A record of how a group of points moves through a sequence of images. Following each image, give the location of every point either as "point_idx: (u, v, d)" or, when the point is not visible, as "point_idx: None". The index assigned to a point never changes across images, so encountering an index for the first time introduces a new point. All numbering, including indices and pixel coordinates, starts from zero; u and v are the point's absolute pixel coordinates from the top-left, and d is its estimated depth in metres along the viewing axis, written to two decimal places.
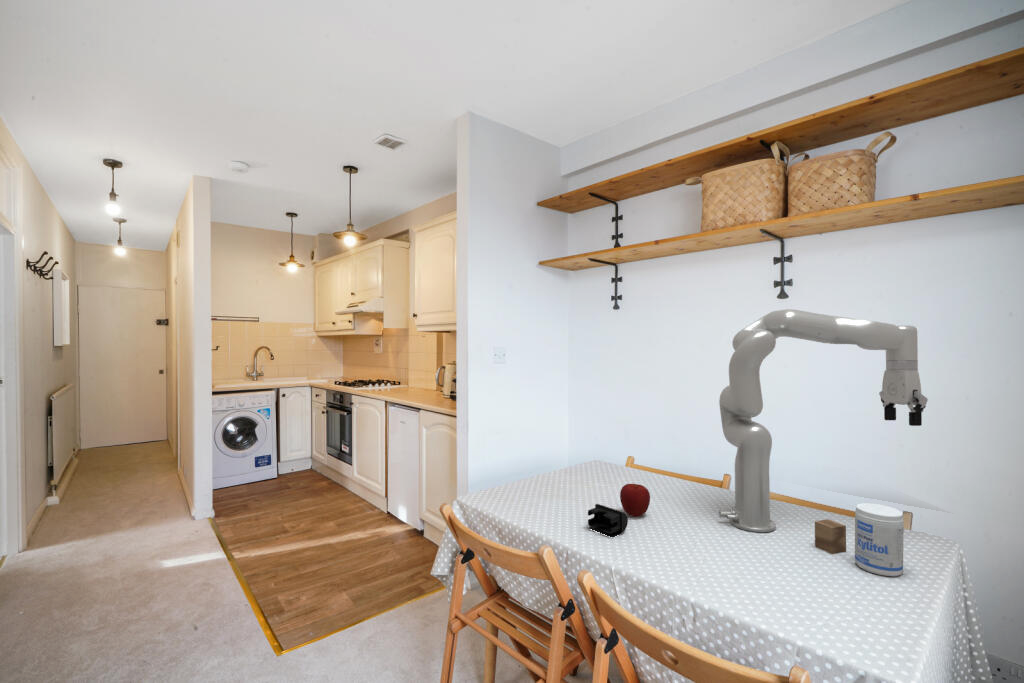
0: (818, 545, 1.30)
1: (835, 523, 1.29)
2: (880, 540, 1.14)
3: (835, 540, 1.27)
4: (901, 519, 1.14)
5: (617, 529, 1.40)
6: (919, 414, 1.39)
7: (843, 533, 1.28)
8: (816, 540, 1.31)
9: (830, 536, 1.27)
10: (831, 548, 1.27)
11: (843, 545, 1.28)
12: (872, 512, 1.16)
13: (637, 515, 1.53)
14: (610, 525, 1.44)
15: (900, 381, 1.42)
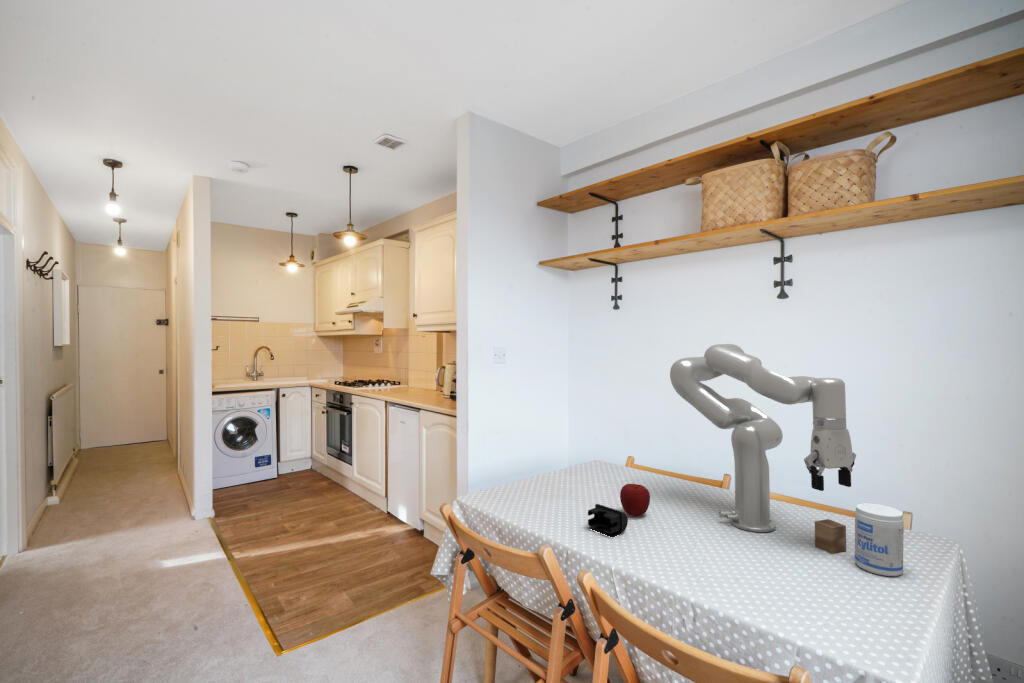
0: (818, 545, 1.30)
1: (835, 523, 1.29)
2: (880, 540, 1.14)
3: (835, 540, 1.27)
4: (901, 519, 1.14)
5: (617, 529, 1.40)
6: None
7: (843, 533, 1.28)
8: (816, 540, 1.31)
9: (830, 536, 1.27)
10: (831, 548, 1.27)
11: (843, 545, 1.28)
12: (872, 512, 1.16)
13: (637, 515, 1.53)
14: (610, 525, 1.44)
15: (847, 440, 1.28)
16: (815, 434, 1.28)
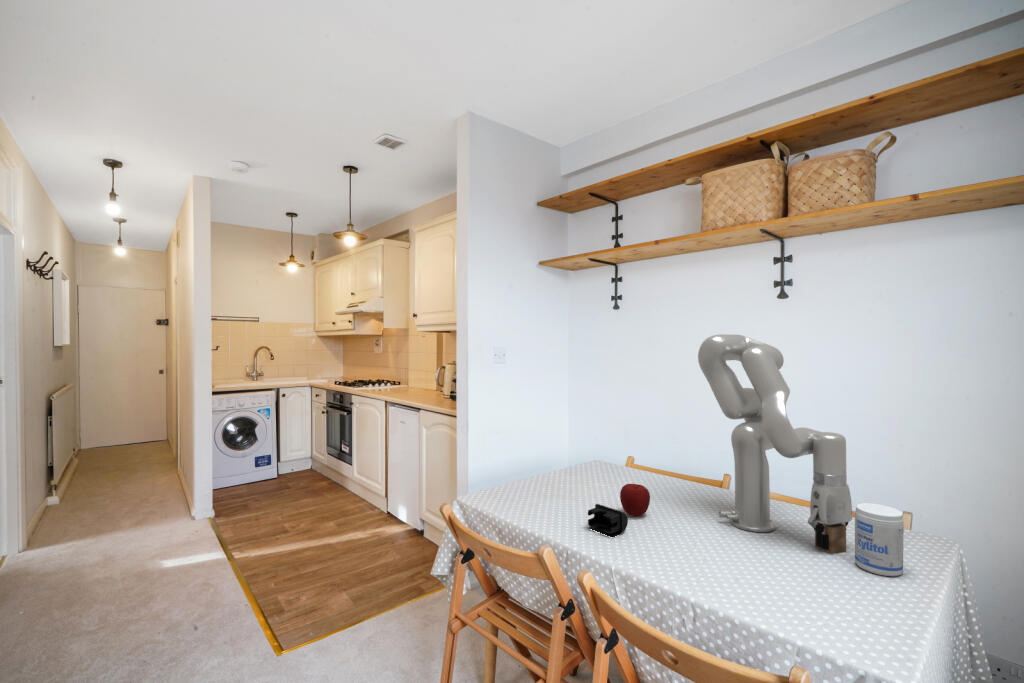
0: None
1: None
2: (880, 540, 1.14)
3: (835, 540, 1.27)
4: (901, 519, 1.14)
5: (617, 529, 1.40)
6: None
7: (843, 533, 1.28)
8: None
9: (830, 536, 1.27)
10: (831, 548, 1.27)
11: (843, 545, 1.28)
12: (872, 512, 1.16)
13: (637, 515, 1.53)
14: (610, 525, 1.44)
15: (847, 496, 1.28)
16: (815, 489, 1.29)
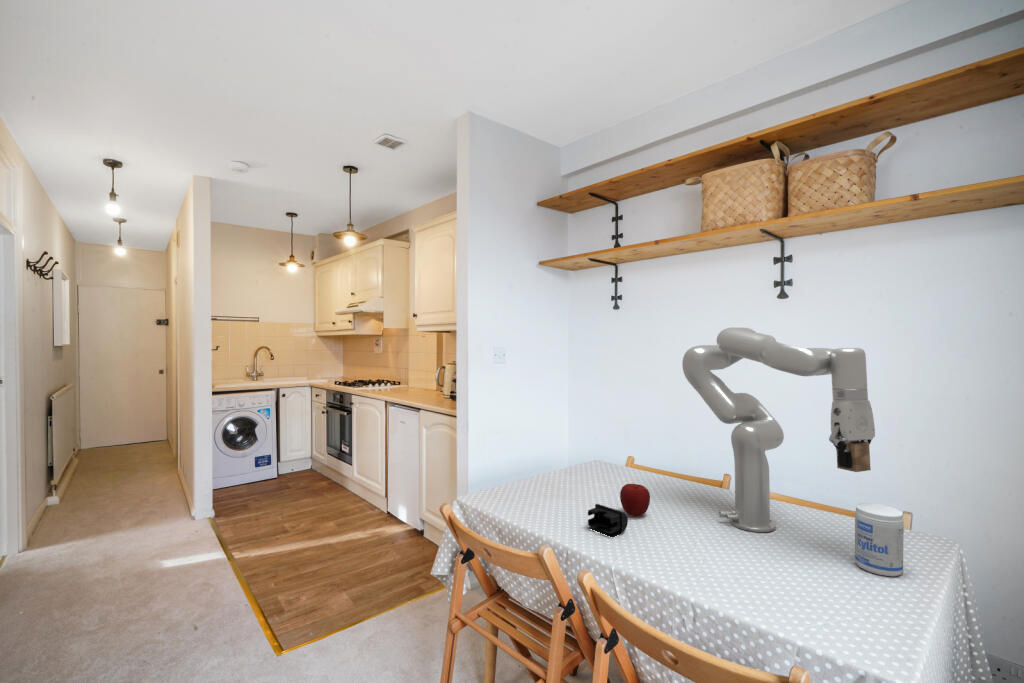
0: None
1: (857, 441, 1.24)
2: (880, 540, 1.14)
3: (859, 457, 1.21)
4: (901, 519, 1.14)
5: (617, 529, 1.40)
6: None
7: (867, 450, 1.22)
8: None
9: (854, 453, 1.21)
10: (855, 466, 1.21)
11: (867, 463, 1.22)
12: (872, 512, 1.16)
13: (637, 515, 1.53)
14: (610, 525, 1.44)
15: (869, 412, 1.23)
16: (835, 406, 1.23)
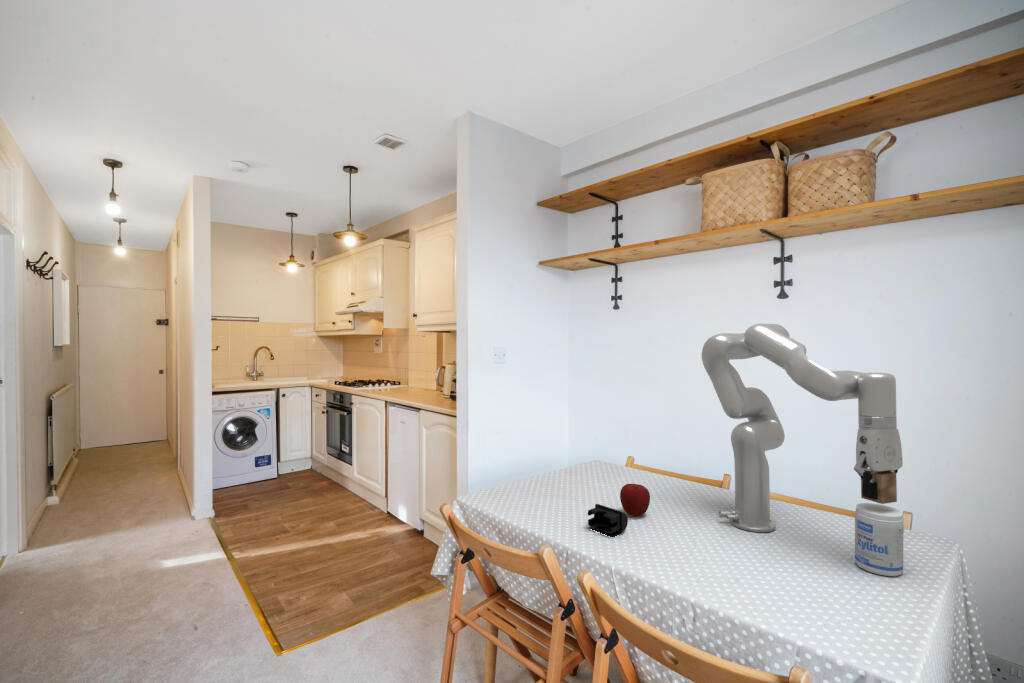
0: None
1: (884, 471, 1.18)
2: (880, 540, 1.14)
3: (885, 488, 1.16)
4: (901, 519, 1.14)
5: (617, 529, 1.40)
6: None
7: (893, 481, 1.16)
8: None
9: (880, 484, 1.15)
10: (880, 497, 1.15)
11: (893, 494, 1.16)
12: (872, 512, 1.16)
13: (637, 515, 1.53)
14: (610, 525, 1.44)
15: (897, 441, 1.17)
16: (862, 434, 1.17)
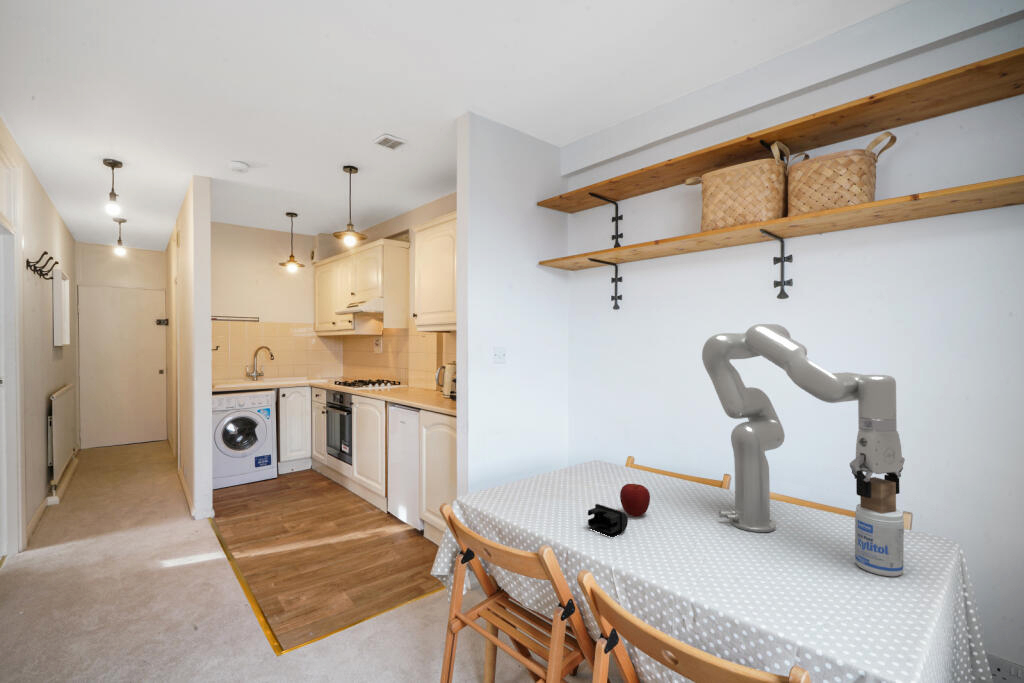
0: (864, 504, 1.19)
1: (883, 480, 1.18)
2: (880, 540, 1.14)
3: (884, 498, 1.16)
4: (901, 519, 1.14)
5: (617, 529, 1.40)
6: None
7: (893, 490, 1.17)
8: (862, 499, 1.20)
9: (879, 494, 1.16)
10: (880, 507, 1.16)
11: (892, 503, 1.16)
12: (872, 512, 1.16)
13: (637, 515, 1.53)
14: (610, 525, 1.44)
15: (897, 443, 1.17)
16: (862, 436, 1.17)
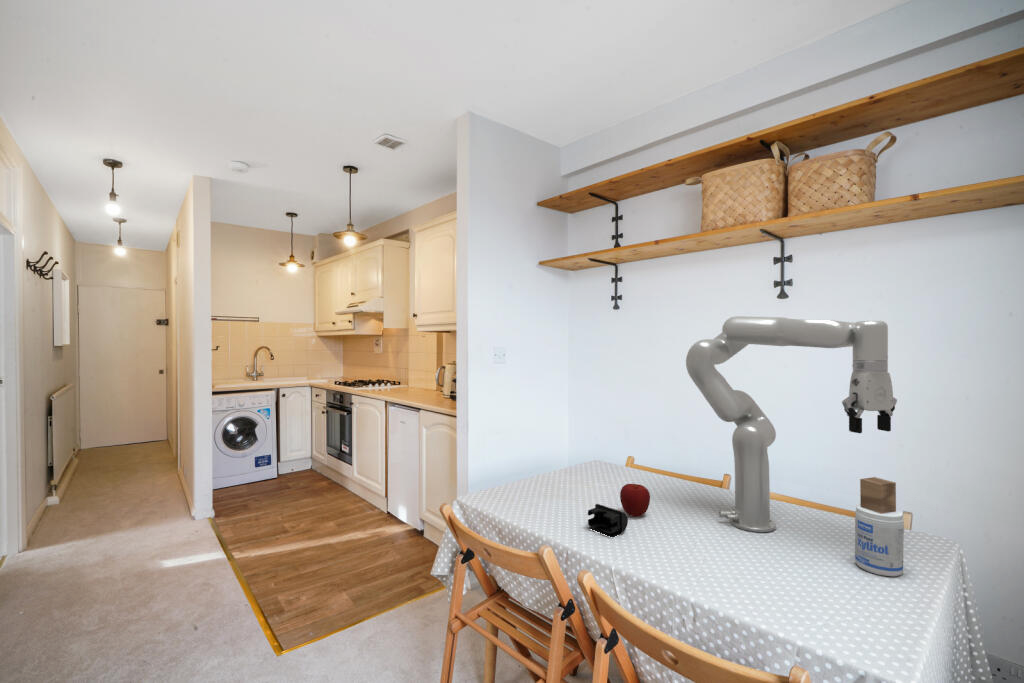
0: (864, 505, 1.19)
1: (883, 480, 1.18)
2: (880, 540, 1.14)
3: (884, 498, 1.16)
4: (901, 519, 1.14)
5: (617, 529, 1.40)
6: None
7: (893, 490, 1.17)
8: (862, 499, 1.20)
9: (879, 494, 1.16)
10: (880, 507, 1.16)
11: (892, 503, 1.16)
12: (872, 512, 1.16)
13: (637, 515, 1.53)
14: (610, 525, 1.44)
15: (888, 384, 1.26)
16: (854, 377, 1.27)
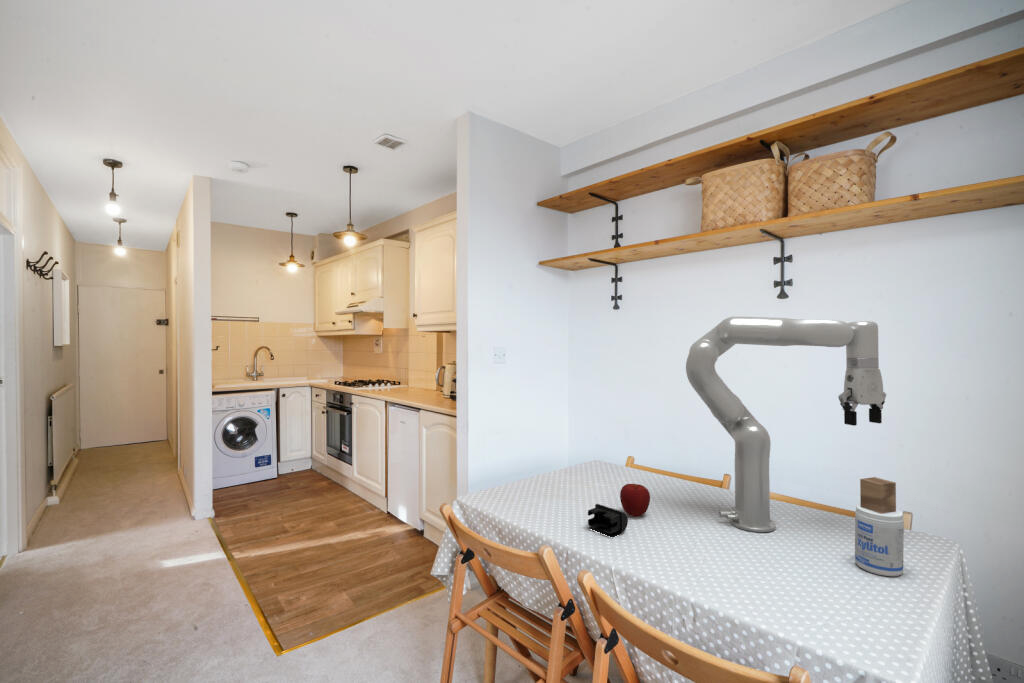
0: (864, 505, 1.19)
1: (883, 480, 1.18)
2: (880, 540, 1.14)
3: (884, 498, 1.16)
4: (901, 519, 1.14)
5: (617, 529, 1.40)
6: None
7: (893, 490, 1.17)
8: (862, 499, 1.20)
9: (879, 494, 1.16)
10: (880, 507, 1.16)
11: (892, 503, 1.16)
12: (872, 512, 1.16)
13: (637, 515, 1.53)
14: (610, 525, 1.44)
15: (879, 379, 1.36)
16: (849, 373, 1.37)
